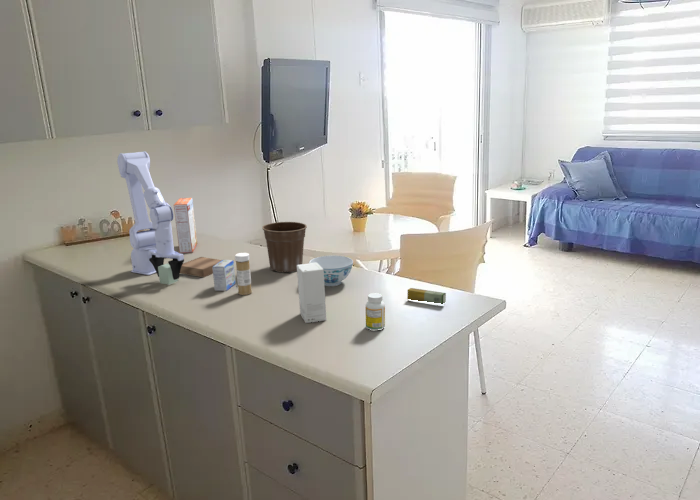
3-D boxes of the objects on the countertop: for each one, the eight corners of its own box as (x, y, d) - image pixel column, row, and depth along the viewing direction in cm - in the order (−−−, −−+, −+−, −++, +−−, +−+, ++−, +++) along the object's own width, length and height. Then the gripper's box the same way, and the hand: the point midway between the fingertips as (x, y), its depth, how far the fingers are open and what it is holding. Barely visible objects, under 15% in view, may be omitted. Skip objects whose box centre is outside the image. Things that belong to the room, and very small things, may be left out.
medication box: (446, 305, 174) (446, 292, 173) (443, 307, 172) (443, 295, 171) (410, 299, 180) (410, 287, 178) (406, 301, 177) (406, 289, 176)
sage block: (159, 283, 199) (157, 266, 197) (169, 279, 203) (167, 263, 201) (169, 284, 197) (167, 268, 195) (178, 281, 201) (176, 264, 199)
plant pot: (302, 259, 223) (300, 219, 218) (313, 271, 208) (311, 228, 204) (261, 264, 218) (258, 223, 214) (269, 276, 203) (266, 233, 199)
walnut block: (179, 273, 209) (178, 265, 209) (201, 264, 220) (200, 256, 219) (203, 277, 204) (203, 269, 203) (225, 268, 214) (225, 260, 213)
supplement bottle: (377, 333, 154) (376, 300, 152) (361, 328, 158) (361, 296, 155) (388, 327, 158) (388, 294, 156) (373, 322, 162) (373, 290, 159)
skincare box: (326, 321, 163) (325, 269, 159) (304, 324, 161) (301, 272, 157) (319, 310, 171) (318, 261, 167) (298, 313, 169) (295, 263, 165)
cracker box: (183, 244, 248) (178, 197, 243) (197, 244, 249) (193, 197, 243) (178, 253, 235) (172, 204, 229) (192, 252, 235) (188, 203, 230)
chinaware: (360, 279, 199) (360, 257, 197) (341, 292, 186) (341, 270, 184) (322, 274, 205) (321, 253, 203) (302, 287, 192) (300, 265, 190)
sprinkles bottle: (249, 290, 190) (246, 251, 186) (253, 294, 186) (250, 254, 182) (236, 292, 188) (233, 253, 184) (240, 296, 184) (236, 256, 180)
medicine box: (226, 291, 189) (224, 266, 187) (214, 290, 190) (212, 266, 188) (235, 283, 197) (234, 259, 194) (223, 283, 197) (221, 259, 195)
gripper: (140, 240, 196) (145, 278, 199) (171, 245, 189) (175, 283, 193) (155, 236, 202) (160, 272, 205) (186, 240, 195) (190, 277, 199)
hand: (168, 277), depth 199 cm, fingers open, 7 cm apart
